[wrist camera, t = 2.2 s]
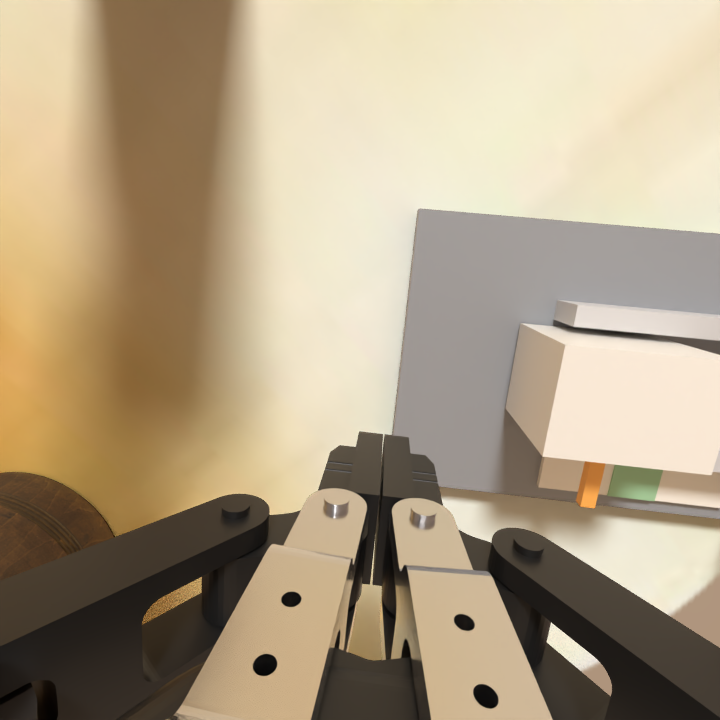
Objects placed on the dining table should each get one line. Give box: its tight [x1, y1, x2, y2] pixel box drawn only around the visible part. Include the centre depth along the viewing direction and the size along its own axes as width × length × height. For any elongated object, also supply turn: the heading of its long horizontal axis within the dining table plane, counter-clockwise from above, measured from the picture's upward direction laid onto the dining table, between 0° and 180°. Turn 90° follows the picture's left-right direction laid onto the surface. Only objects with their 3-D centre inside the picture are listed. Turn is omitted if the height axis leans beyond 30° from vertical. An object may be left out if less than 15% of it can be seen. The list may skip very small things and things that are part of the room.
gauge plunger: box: [506, 323, 720, 508], centre depth 24 cm, size 8×9×7 cm
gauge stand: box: [392, 209, 720, 519], centre depth 24 cm, size 30×18×10 cm, turn 85°
